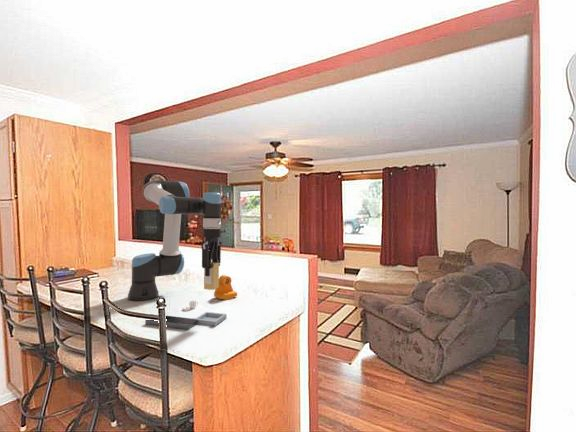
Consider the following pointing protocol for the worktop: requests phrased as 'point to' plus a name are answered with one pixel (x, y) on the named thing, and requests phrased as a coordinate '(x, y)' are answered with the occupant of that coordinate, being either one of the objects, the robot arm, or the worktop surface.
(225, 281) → the bracket
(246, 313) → the worktop surface
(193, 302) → the teacup and saucer
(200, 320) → the tray
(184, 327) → the dark grey shallow tray
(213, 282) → the tan rectangular block
